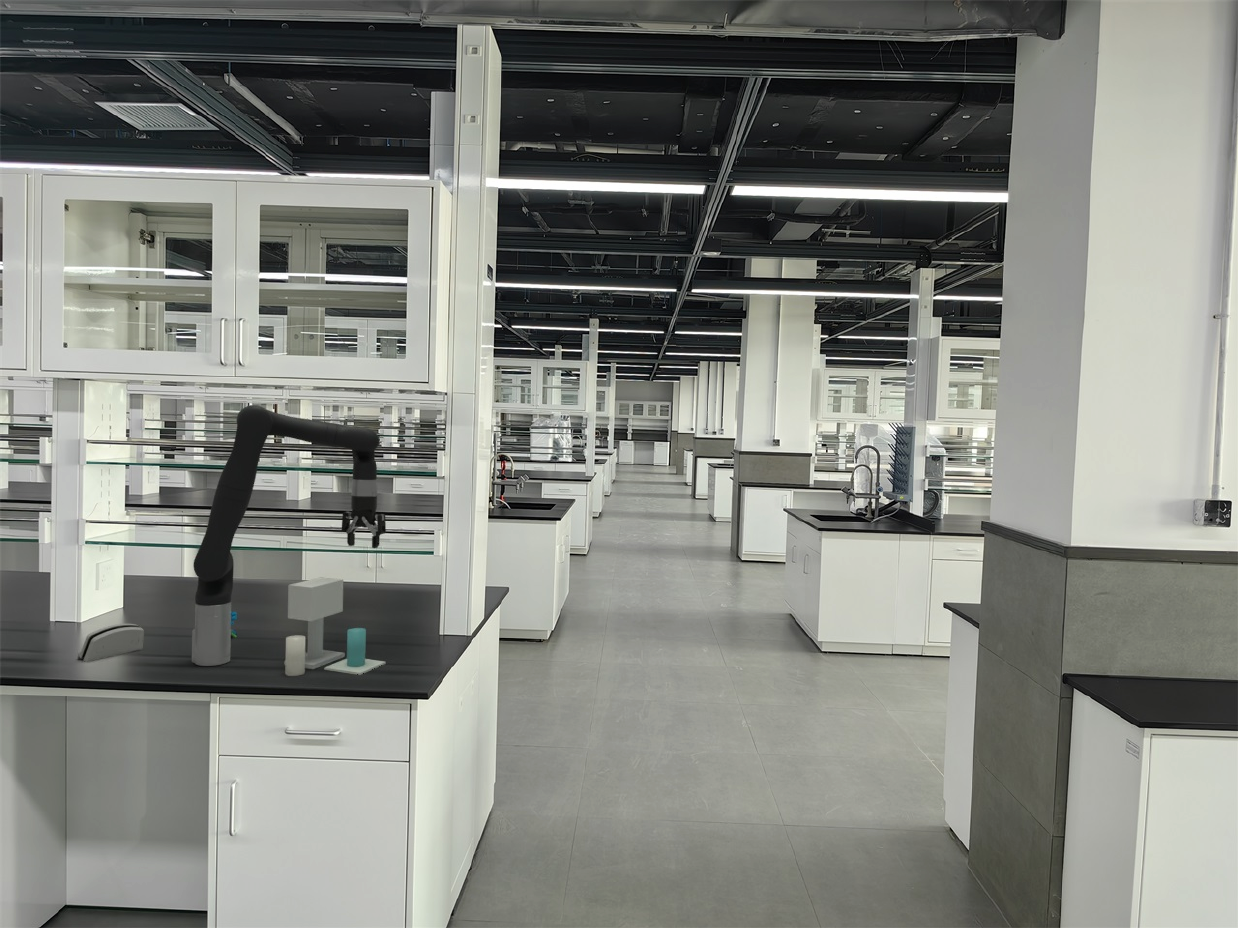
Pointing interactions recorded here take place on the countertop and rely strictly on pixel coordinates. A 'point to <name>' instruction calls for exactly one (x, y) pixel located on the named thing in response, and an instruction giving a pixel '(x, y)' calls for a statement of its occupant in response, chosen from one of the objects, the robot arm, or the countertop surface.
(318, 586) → the mounted unit
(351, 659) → the teal part
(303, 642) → the cream part
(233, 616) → the gear
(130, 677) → the countertop surface
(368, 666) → the mat
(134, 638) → the grey curved piece
